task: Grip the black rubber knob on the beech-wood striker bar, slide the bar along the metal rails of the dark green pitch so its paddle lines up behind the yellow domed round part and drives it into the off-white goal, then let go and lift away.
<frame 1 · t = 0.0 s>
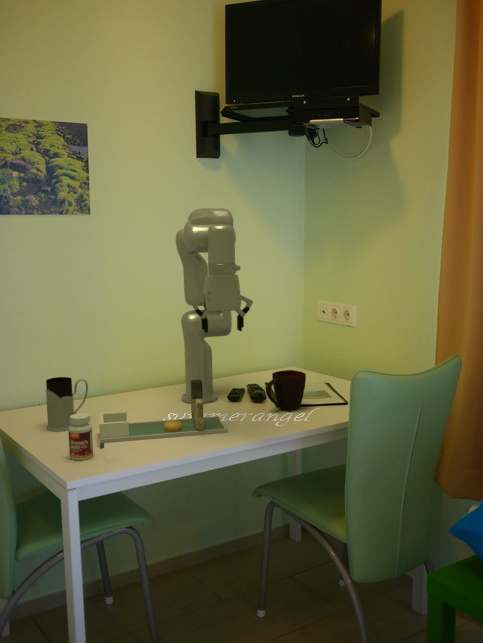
hand: (222, 331, 186), 31 cm above the table, fingers open, 9 cm apart
yellow domed round part: (172, 429, 194), point 1 cm above the table, touching pitch
pitch: (162, 435, 194), on the table
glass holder: (69, 426, 205), on the table
cup: (284, 410, 219), on the table
striker: (196, 403, 195), point 9 cm above the table, slide at 0.0 cm
pill bottle: (81, 457, 177), on the table
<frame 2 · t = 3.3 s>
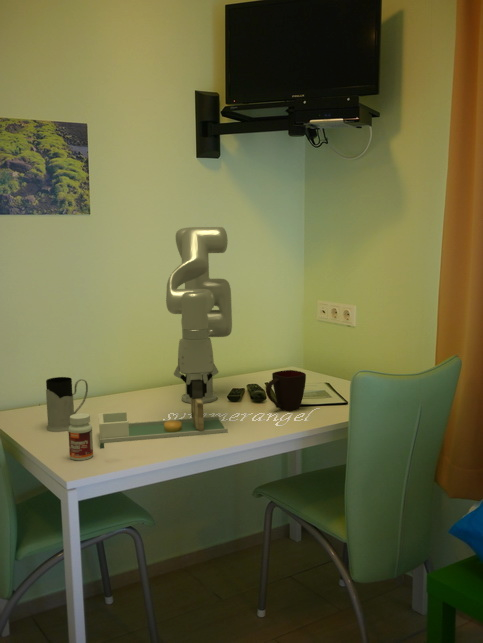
hand: (196, 395, 194), 11 cm above the table, fingers closed on striker, 3 cm apart
striker: (196, 403, 195), point 9 cm above the table, slide at 0.0 cm, touching gripper
everything else where it was.
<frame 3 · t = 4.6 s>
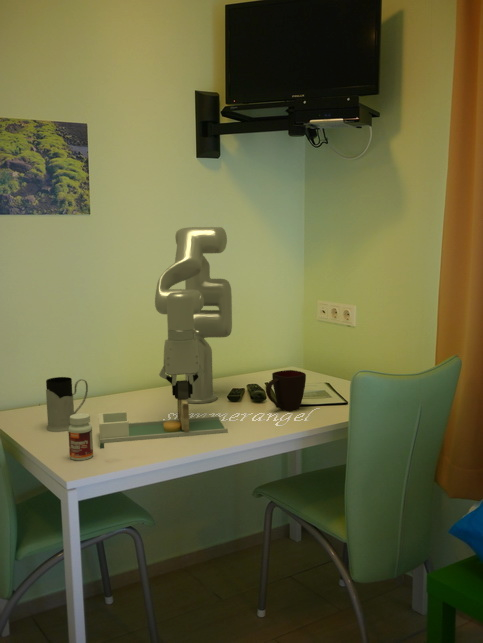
hand: (182, 396, 193), 11 cm above the table, fingers closed on striker, 3 cm apart
yellow domed round part: (172, 429, 194), point 2 cm above the table, touching striker
striker: (182, 404, 194), point 9 cm above the table, slide at 4.2 cm, touching gripper, yellow domed round part
everything else where it was.
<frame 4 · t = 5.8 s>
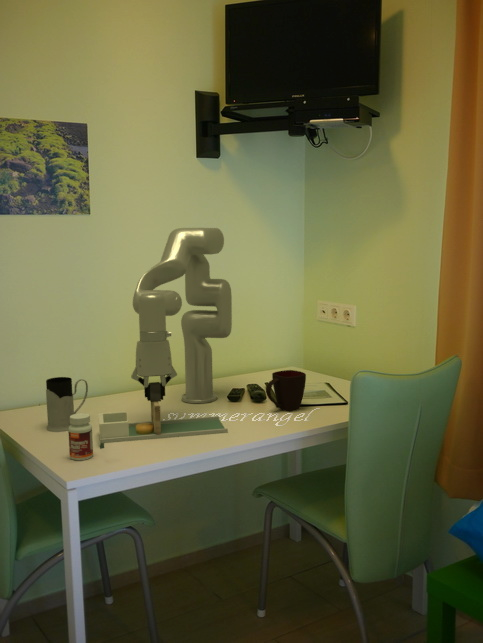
hand: (155, 398, 192), 11 cm above the table, fingers closed on striker, 3 cm apart
yellow domed round part: (144, 431, 192), point 1 cm above the table, touching pitch
striker: (155, 406, 192), point 9 cm above the table, slide at 12.2 cm, touching gripper
everything else where it was.
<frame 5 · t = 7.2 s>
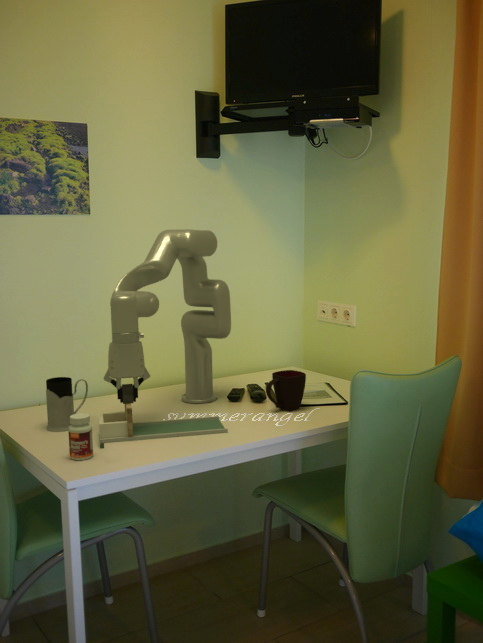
hand: (127, 400, 190), 11 cm above the table, fingers closed on striker, 3 cm apart
yellow domed round part: (117, 434, 191), point 1 cm above the table, touching pitch, striker
striker: (128, 408, 190), point 9 cm above the table, slide at 19.9 cm, touching gripper, yellow domed round part
everything else where it was.
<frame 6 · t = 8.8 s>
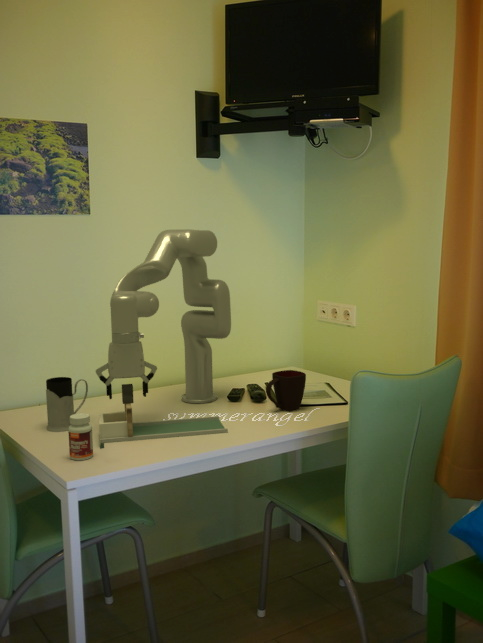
hand: (127, 396, 190), 12 cm above the table, fingers open, 9 cm apart
yellow domed round part: (117, 434, 191), point 1 cm above the table, touching pitch
striker: (128, 408, 190), point 9 cm above the table, slide at 20.0 cm
everything else where it was.
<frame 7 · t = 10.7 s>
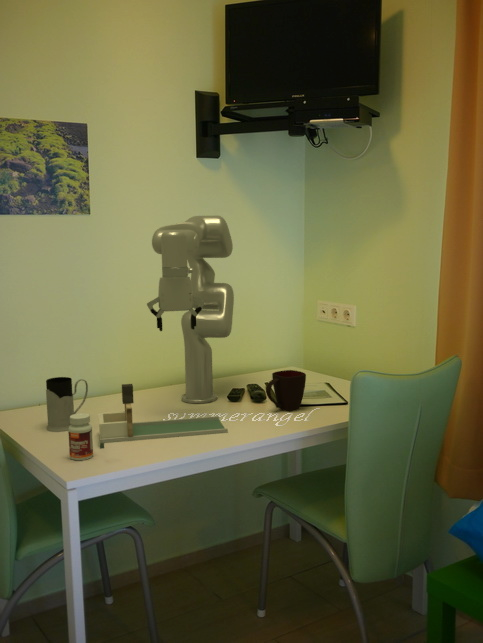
hand: (176, 329, 200), 30 cm above the table, fingers open, 9 cm apart
nothing on the table moved.
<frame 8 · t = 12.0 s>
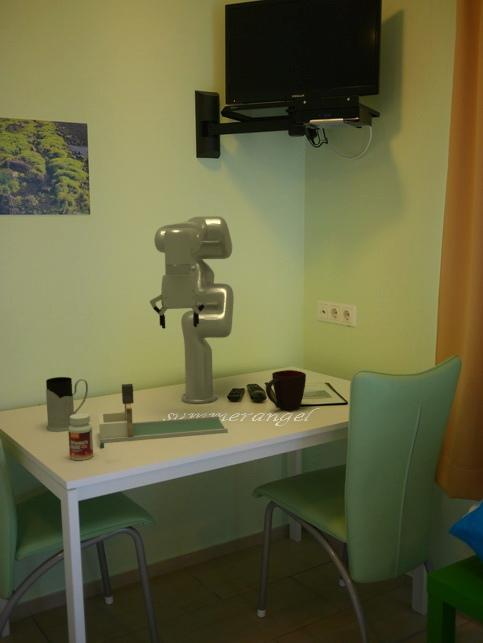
hand: (179, 327, 200), 30 cm above the table, fingers open, 9 cm apart
nothing on the table moved.
at the end: yellow domed round part 1.0 cm from the target spot on the pitch, point 1.5 cm above the pitch's base; striker slide at 20.0 cm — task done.
